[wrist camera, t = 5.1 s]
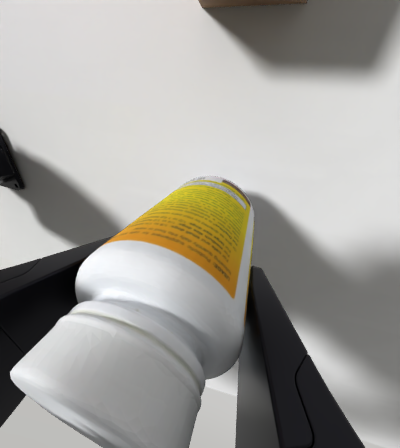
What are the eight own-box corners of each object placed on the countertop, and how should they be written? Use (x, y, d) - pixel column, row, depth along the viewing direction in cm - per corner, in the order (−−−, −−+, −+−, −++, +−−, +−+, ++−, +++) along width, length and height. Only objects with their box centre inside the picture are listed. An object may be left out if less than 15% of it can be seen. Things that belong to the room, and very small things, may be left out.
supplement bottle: (164, 183, 12) (-78, 324, 3) (247, 163, 10) (141, 413, 1) (188, 250, 14) (76, 435, 6) (260, 246, 12) (253, 539, 4)
